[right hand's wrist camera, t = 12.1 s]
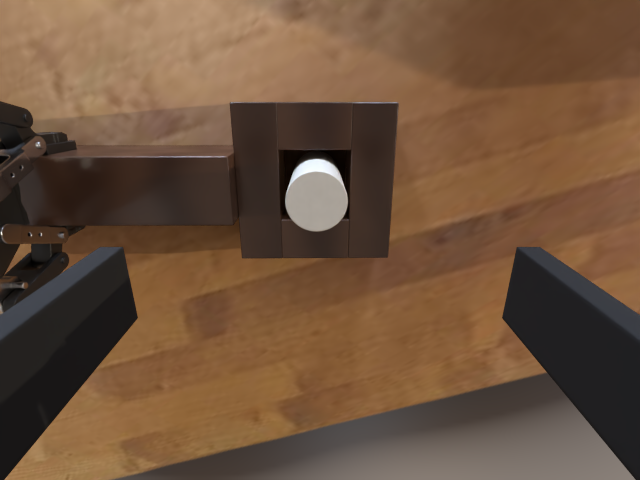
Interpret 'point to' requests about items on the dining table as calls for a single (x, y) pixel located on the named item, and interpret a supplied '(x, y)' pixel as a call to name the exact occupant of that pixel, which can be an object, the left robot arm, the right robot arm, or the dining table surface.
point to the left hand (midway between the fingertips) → (72, 180)
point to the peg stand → (232, 180)
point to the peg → (316, 193)
